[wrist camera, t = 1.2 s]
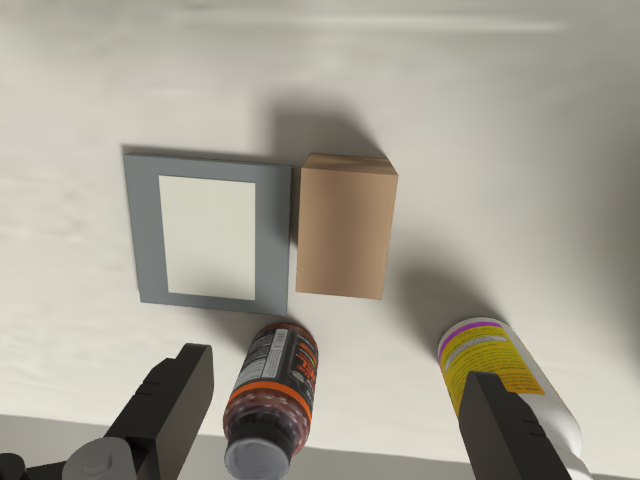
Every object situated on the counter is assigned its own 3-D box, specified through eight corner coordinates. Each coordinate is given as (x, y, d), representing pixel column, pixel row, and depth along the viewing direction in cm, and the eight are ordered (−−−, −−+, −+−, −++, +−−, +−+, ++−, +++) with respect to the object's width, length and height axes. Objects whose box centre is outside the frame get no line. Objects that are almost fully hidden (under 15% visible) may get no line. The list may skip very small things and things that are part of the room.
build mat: (292, 165, 28) (290, 168, 27) (287, 309, 32) (285, 316, 31) (130, 152, 28) (122, 155, 27) (146, 296, 33) (139, 302, 32)
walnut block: (388, 158, 27) (398, 175, 22) (375, 261, 30) (381, 299, 25) (311, 152, 28) (301, 168, 22) (305, 255, 30) (295, 292, 25)
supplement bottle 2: (418, 352, 33) (459, 502, 21) (475, 298, 31) (556, 431, 19) (477, 392, 34) (547, 557, 22) (535, 343, 32) (649, 496, 20)
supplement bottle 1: (331, 364, 34) (322, 487, 23) (272, 384, 35) (238, 510, 25) (300, 309, 32) (276, 416, 22) (239, 333, 33) (188, 445, 23)
